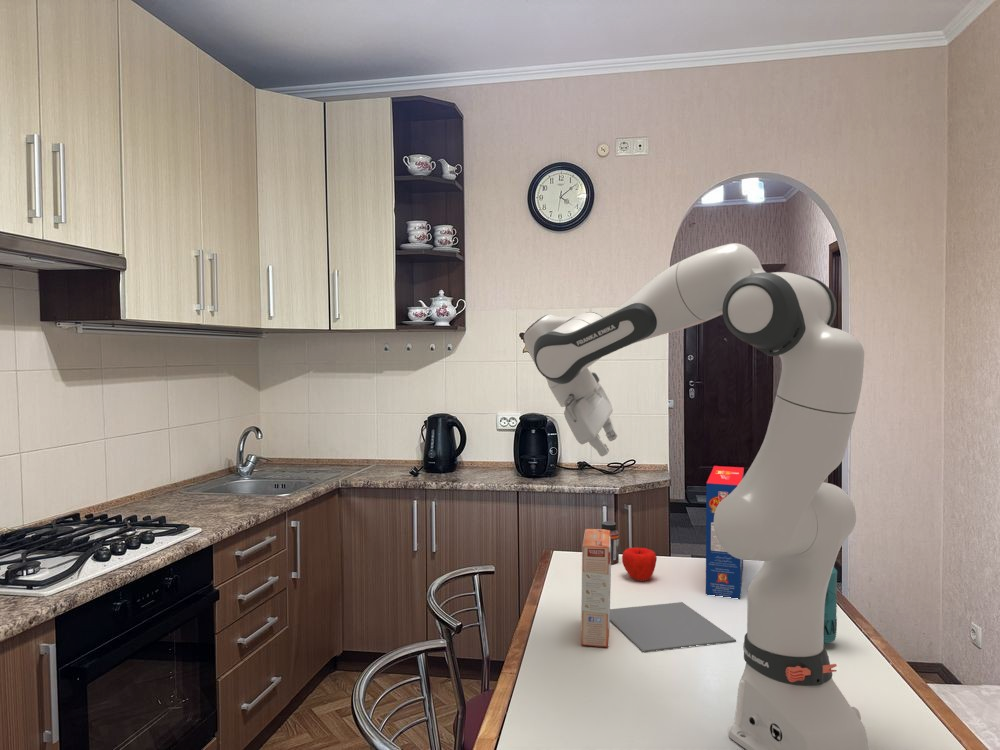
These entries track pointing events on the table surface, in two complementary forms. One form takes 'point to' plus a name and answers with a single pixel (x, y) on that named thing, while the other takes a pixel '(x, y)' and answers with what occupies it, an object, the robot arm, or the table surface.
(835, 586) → the beverage bottle
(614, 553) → the supplement bottle
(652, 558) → the apple
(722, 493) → the pasta box
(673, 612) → the mat
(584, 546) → the cracker box
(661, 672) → the table surface
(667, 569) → the table surface
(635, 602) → the table surface
